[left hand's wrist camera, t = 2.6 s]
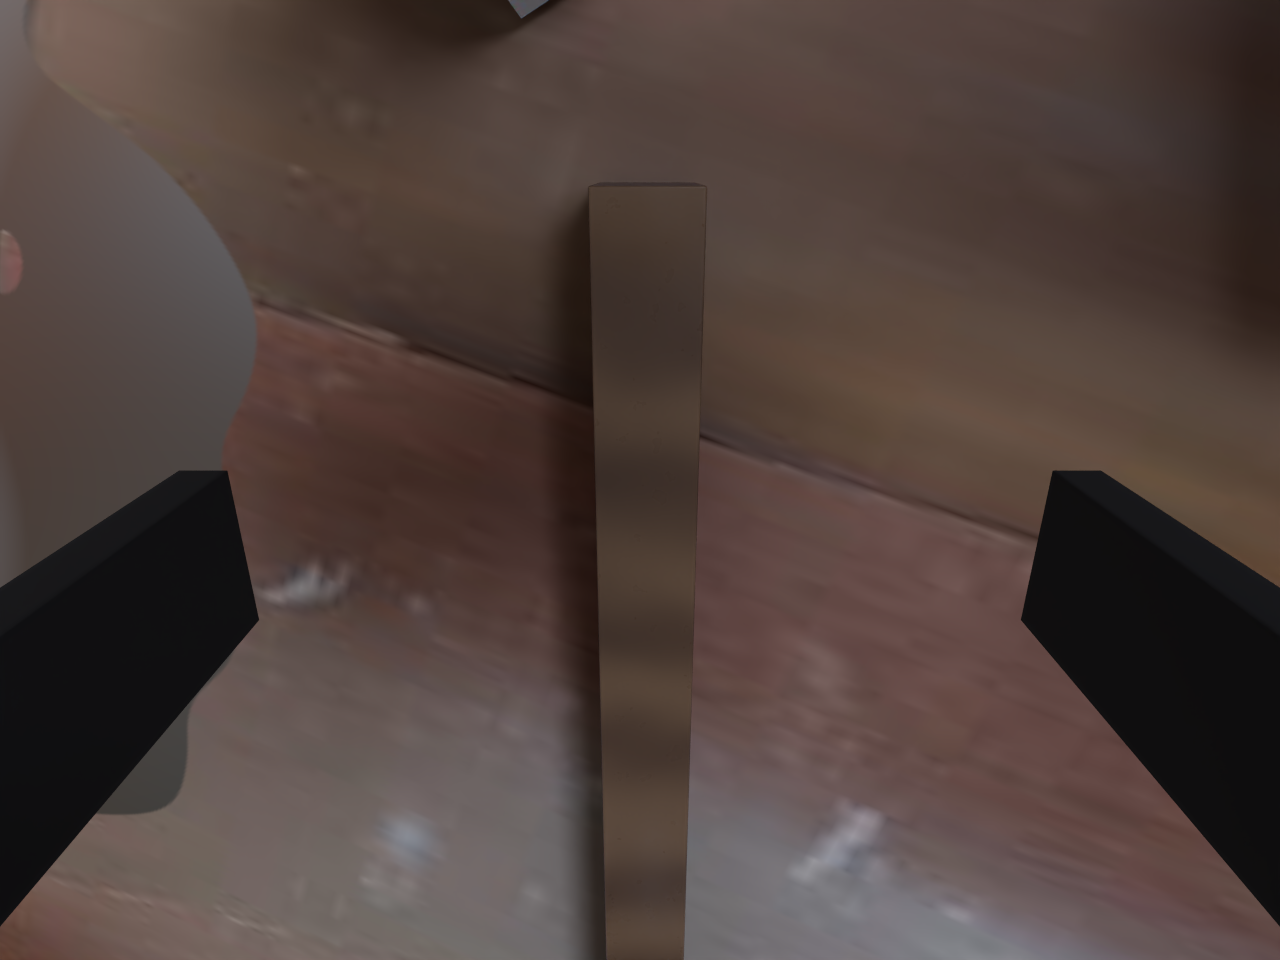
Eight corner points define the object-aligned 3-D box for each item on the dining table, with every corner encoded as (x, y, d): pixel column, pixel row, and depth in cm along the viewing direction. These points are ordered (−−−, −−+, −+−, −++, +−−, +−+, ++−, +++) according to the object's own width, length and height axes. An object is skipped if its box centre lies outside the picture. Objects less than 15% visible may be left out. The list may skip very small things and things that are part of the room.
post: (597, 182, 40) (588, 185, 33) (696, 182, 40) (707, 185, 33) (615, 1137, 70) (612, 1244, 63) (672, 1137, 70) (675, 1244, 63)
